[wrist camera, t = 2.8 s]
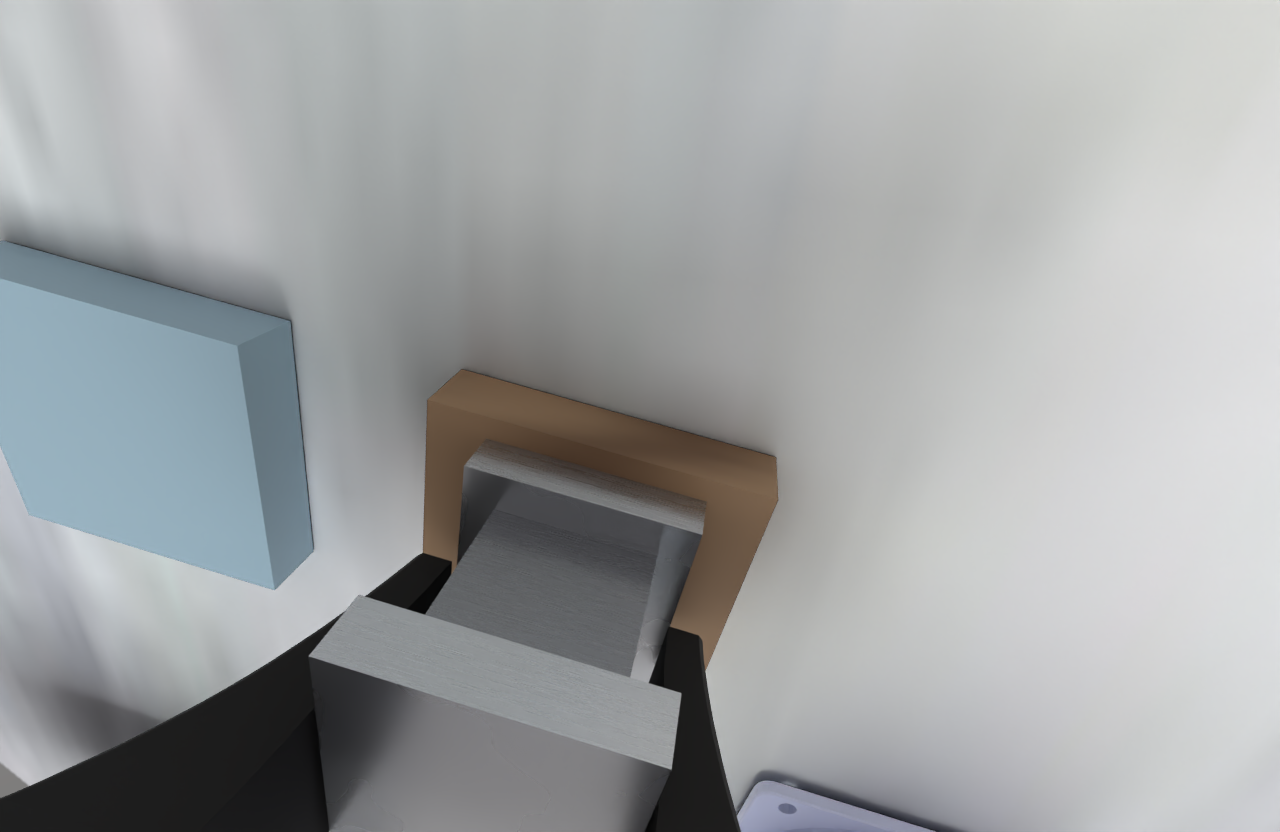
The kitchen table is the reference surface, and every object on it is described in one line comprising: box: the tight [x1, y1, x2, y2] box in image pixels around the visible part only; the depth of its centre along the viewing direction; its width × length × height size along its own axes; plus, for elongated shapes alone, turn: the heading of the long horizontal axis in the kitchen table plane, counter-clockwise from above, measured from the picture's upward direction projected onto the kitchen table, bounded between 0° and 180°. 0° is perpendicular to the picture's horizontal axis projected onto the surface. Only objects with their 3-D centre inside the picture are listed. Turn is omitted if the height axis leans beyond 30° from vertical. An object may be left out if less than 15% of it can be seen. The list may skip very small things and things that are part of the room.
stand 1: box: [0, 241, 313, 590], centre depth 14 cm, size 7×7×2 cm
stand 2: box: [423, 369, 778, 670], centre depth 13 cm, size 7×7×2 cm
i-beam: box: [309, 438, 707, 832], centre depth 11 cm, size 4×6×5 cm
